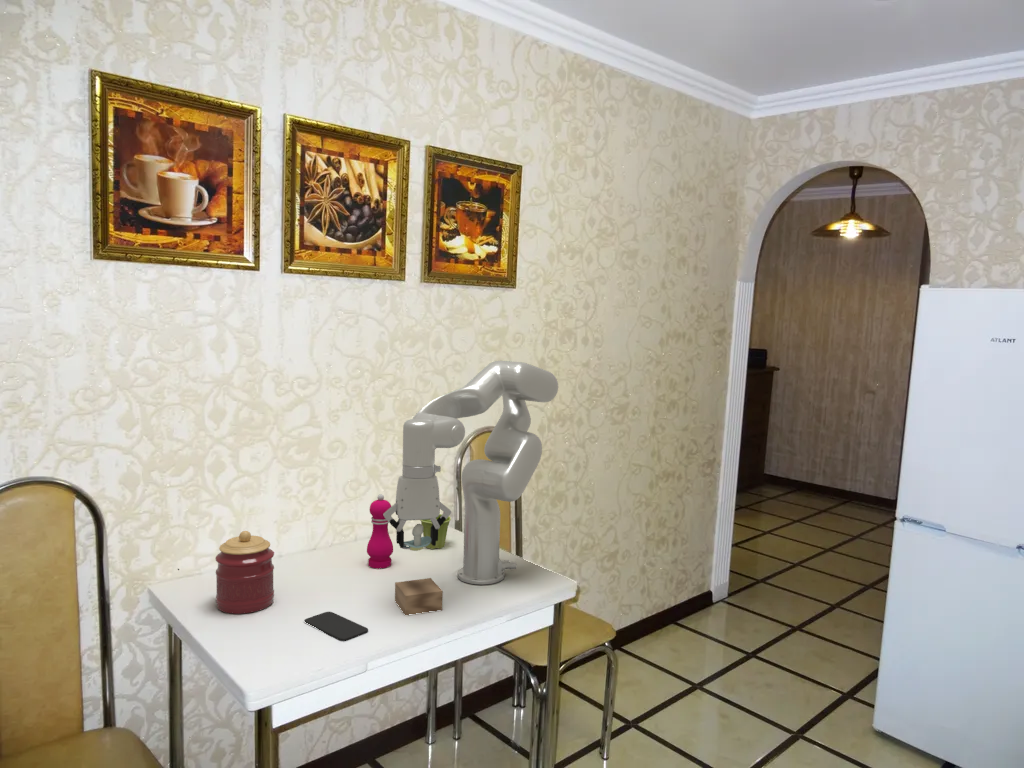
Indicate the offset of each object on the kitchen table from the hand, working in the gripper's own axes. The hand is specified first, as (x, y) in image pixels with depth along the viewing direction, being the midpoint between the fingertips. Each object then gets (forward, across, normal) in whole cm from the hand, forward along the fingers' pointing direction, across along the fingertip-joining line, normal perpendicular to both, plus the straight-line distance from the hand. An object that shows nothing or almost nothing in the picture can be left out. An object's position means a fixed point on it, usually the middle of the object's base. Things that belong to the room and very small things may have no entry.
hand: (417, 544), depth 172 cm
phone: (+15, +19, +8) cm, 26 cm away
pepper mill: (+15, +5, -30) cm, 34 cm away
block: (+15, 0, 0) cm, 15 cm away
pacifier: (+1, 0, -1) cm, 1 cm away
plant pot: (+15, -13, -43) cm, 47 cm away
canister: (+15, +39, -10) cm, 43 cm away
